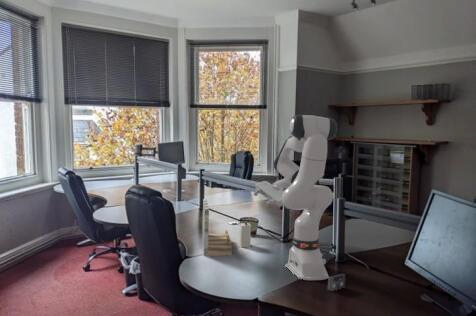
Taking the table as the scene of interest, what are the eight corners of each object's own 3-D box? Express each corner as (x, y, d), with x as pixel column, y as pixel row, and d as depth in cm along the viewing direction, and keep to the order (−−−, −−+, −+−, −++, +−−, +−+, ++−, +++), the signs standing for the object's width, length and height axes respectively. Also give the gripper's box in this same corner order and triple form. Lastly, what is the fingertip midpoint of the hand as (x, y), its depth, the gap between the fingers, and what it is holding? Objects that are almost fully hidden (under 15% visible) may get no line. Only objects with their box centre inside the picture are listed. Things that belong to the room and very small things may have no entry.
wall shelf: (231, 255, 188) (232, 209, 185) (203, 255, 186) (204, 209, 183) (226, 240, 211) (227, 199, 209) (202, 240, 209) (203, 199, 207)
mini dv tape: (342, 286, 155) (343, 273, 154) (344, 288, 154) (345, 274, 153) (327, 290, 151) (328, 276, 150) (329, 292, 150) (330, 277, 149)
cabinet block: (250, 247, 200) (250, 223, 199) (241, 247, 200) (241, 223, 199) (248, 244, 205) (249, 220, 204) (239, 244, 205) (240, 220, 203)
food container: (260, 233, 225) (261, 217, 224) (258, 236, 220) (259, 220, 219) (241, 231, 229) (241, 215, 228) (238, 234, 223) (239, 218, 222)
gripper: (266, 176, 211) (247, 185, 204) (292, 193, 197) (273, 203, 190) (266, 185, 214) (247, 194, 207) (291, 202, 200) (272, 213, 193)
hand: (260, 198), depth 198 cm, fingers open, 8 cm apart
